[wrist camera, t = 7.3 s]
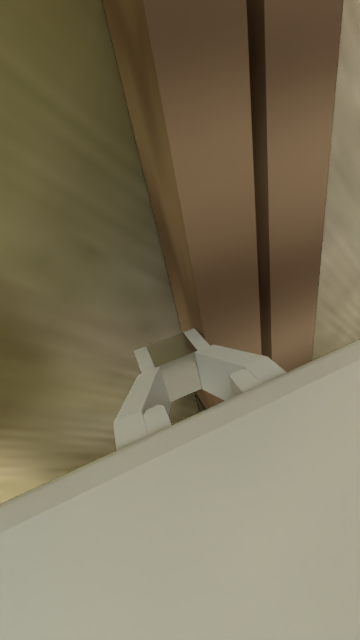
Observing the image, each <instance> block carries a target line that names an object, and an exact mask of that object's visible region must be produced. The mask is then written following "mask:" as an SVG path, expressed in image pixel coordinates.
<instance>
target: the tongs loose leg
mask: <svg viewBox="0 0 360 640" xmlns="http://www.w3.org/2000/svg"><path fill="white" fill-rule="evenodd" d="M102 2H103V6H104V10H105V14H106V19H107V23H108V27H109V31H110V35H111V39H112V43H113V48H114V52H115V56H116V60H117V64H118V68H119V73H120V77H121V81H122V85H123V89H124V93H125V98H126V102H127V106H128V110H129V114H130V118H131V122H132V127H133V131H134V135H135V139H136V143H137V147H138V152H139V156H140V160H141V164H142V168H143V172H144V176H145V181H146V185H147V189H148V193H149V197H150V201H151V206H152V210H153V214H154V218H155V222H156V226H157V231H158V235H159V239H160V243H161V247H162V251H163V255H164V260H165V264H166V268H167V272H168V276H169V280H170V285H171V289H172V293H173V297H174V301H175V305H176V310H177V314H178V318H179V322H180V326H181V330H182V333H183V332H185V331H187V330H190V329H192V328H194V329H196V331H197V332H198V333H199V334H200V335H201V336H202V337H203V338H204V339H205V340H206V341H207V343H208V344H209V345H210V346H211V345H218V346H222V347H227V348H231V349H236V350H240V351H245V352H249V353H254V354H258V355H262V353H261V329H260V306H259V283H258V260H257V237H256V213H255V190H254V167H253V144H252V120H251V97H250V74H249V51H248V28H247V4H246V0H102ZM196 393H197V394H196V399H197V403H198V407H199V411H200V412H202V411H204V410H206V409H208V408H210V407H213V406H215V405H217V404H219V403H221V402H223V401H224V400H222V399H220V398H218V397H216V396H215V395H213V394H211V393H209V392H207V391H205V390H203V389H200V390H198V391H196Z"/></svg>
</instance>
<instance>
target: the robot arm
mask: <svg viewBox="0 0 360 640" xmlns="http://www.w3.org/2000/svg"><path fill="white" fill-rule="evenodd" d="M134 354H135V356H136V359H137V362H138V365H139V368H140V371H141V374H139V375H138V376H137V378H136V380H135V382H134V383H133V385H132V387H131V389H130V391H129V393H128V395H127V397H126V399H125V401H124V403H123V405H122V407H121V409H120V411H119V413H118V415H117V416H116V418H115V420H114V422H113V427H114V435H115V443H116V451H114V452H112V453H110V454H108V455H106V456H104V457H101V458H99V459H97V460H95V461H93V462H90V463H88V464H86V465H84V466H82V467H80V468H77V469H75V470H73V471H71V472H69V473H66V474H64V475H62V476H60V477H58V478H56V479H53V480H51V481H49V482H47V483H45V484H42V485H40V486H38V487H36V488H34V489H32V490H29V491H27V492H25V493H23V494H21V495H18V496H16V497H14V498H12V499H10V500H8V501H5V502H3V503H1V504H0V640H360V339H359V340H356V341H354V342H352V343H350V344H348V345H346V346H343V347H341V348H339V349H337V350H335V351H332V352H330V353H328V354H326V355H324V356H322V357H319V358H317V359H315V360H313V361H311V362H309V363H306V364H304V365H302V366H300V367H298V368H295V369H293V370H291V371H289V372H286V371H284V370H283V369H282V368H281V367H280V366H278V365H277V364H276V363H275V362H274V361H272V360H271V359H270V358H269V357H267V356H262V355H258V354H254V353H249V352H245V351H240V350H236V349H231V348H227V347H222V346H218V345H211V346H210V345H209V344H208V343H207V341H206V340H205V339H204V338H203V337H202V336H201V335H200V334H199V333H198V332H197V331H196V329H194V328H192V329H190V330H187V331H185V332H183V333H180V334H178V335H175V336H173V337H170V338H167V339H165V340H162V341H159V342H156V343H153V344H150V345H148V346H146V347H142V348H139V349H137V350H134ZM200 389H203V390H205V391H207V392H209V393H211V394H213V395H215V396H216V397H218V398H220V399H222V400H224V401H223V402H221V403H219V404H217V405H215V406H213V407H210V408H208V409H206V410H204V411H202V412H200V413H197V414H195V415H193V416H191V417H189V418H186V419H184V420H182V421H180V422H178V423H176V424H173V425H172V424H171V422H170V420H169V412H170V408H171V402H173V401H175V400H177V399H179V398H181V397H183V396H185V395H188V394H190V393H193V392H195V391H198V390H200Z"/></svg>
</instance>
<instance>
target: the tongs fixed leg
mask: <svg viewBox="0 0 360 640" xmlns="http://www.w3.org/2000/svg"><path fill="white" fill-rule="evenodd" d="M246 4H247V28H248V51H249V74H250V97H251V120H252V144H253V167H254V190H255V213H256V237H257V260H258V283H259V306H260V329H261V353H262V356H267V357H269V358H270V359H271V360H272V361H274V362H275V363H276V364H277V365H278V366H280V367H281V368H282V369H283V370H284V371H286V372H289V371H291V370H293V369H295V368H298V367H300V366H302V365H304V364H306V363H309V362H311V361H312V354H313V342H314V331H315V320H316V308H317V297H318V285H319V274H320V262H321V251H322V239H323V228H324V217H325V205H326V194H327V182H328V171H329V159H330V148H331V137H332V125H333V114H334V102H335V91H336V79H337V68H338V56H339V45H340V34H341V22H342V11H343V0H246Z"/></svg>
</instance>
